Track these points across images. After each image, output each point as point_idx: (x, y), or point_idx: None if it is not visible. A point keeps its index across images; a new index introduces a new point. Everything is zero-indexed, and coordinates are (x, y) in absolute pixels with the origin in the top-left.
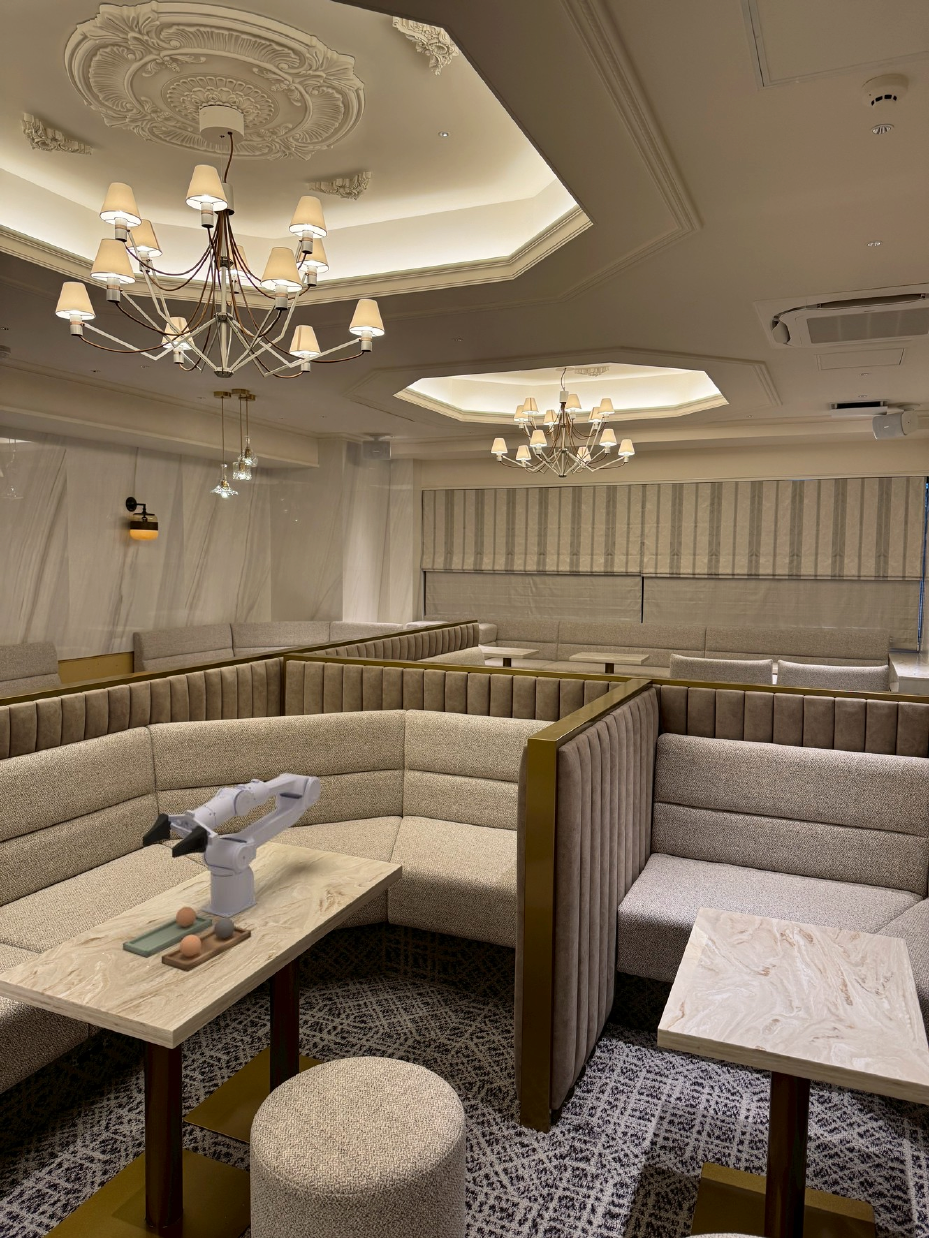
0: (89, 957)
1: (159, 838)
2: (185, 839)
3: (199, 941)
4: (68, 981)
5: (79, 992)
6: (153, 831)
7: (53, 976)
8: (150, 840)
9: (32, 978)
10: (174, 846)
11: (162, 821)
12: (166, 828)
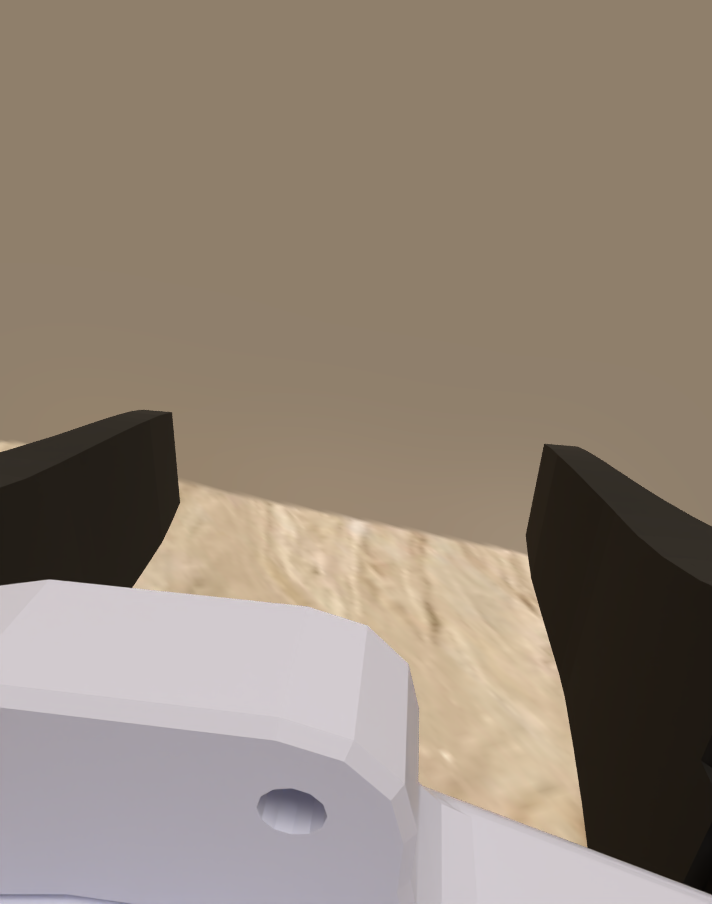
0: (466, 713)
1: (577, 714)
2: (48, 452)
3: None
4: (398, 575)
5: (324, 535)
6: (583, 499)
7: (462, 592)
8: (547, 553)
9: (504, 577)
10: (153, 414)
11: (690, 562)
12: (649, 777)
